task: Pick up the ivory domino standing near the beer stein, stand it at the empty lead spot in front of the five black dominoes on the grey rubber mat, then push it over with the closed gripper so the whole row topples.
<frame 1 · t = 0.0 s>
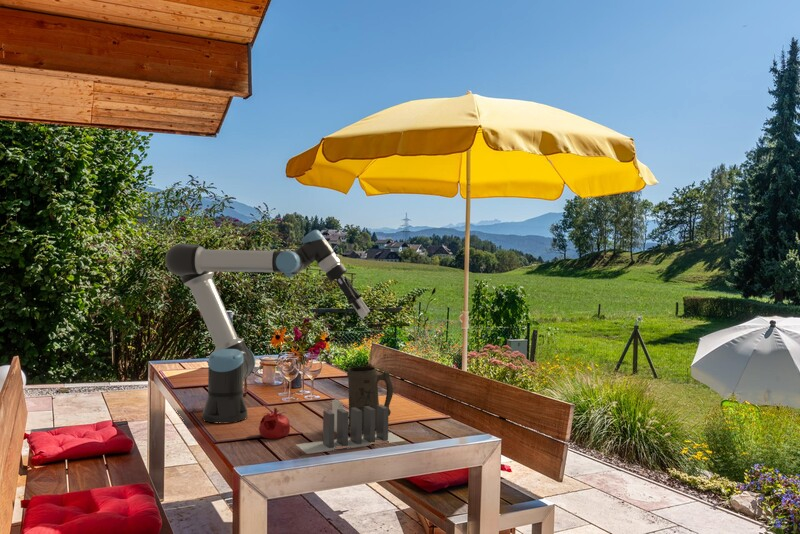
hand: (366, 315, 230), 36 cm above the table, tool tilted 35°, fingers open, 13 cm apart
domino 3: (355, 441, 191), resting on mat
domino 2: (342, 443, 189), resting on mat
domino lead: (336, 432, 203), on the table
pomegranate: (274, 437, 196), on the table
domino 1: (328, 445, 187), resting on mat
domino 4: (369, 440, 193), resting on mat
beer stein: (369, 427, 209), on the table
mat: (351, 443, 190), on the table
domino 5: (382, 438, 195), resting on mat
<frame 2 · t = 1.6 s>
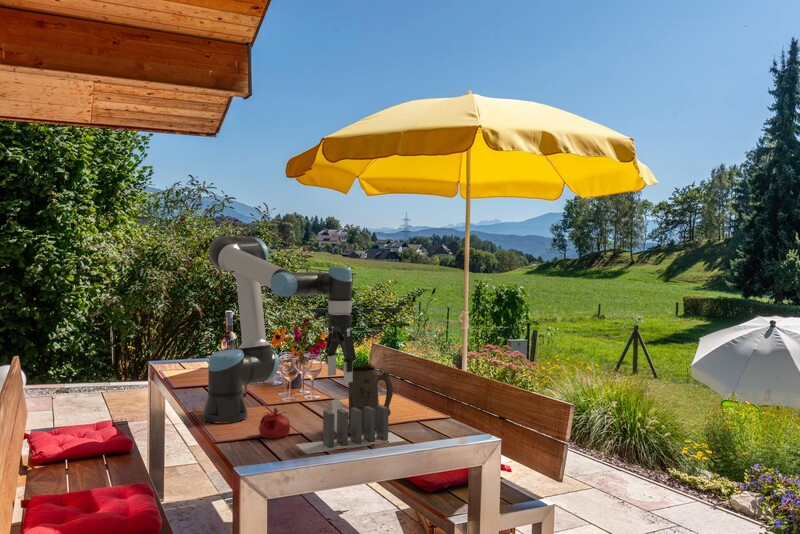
hand: (339, 378, 204), 17 cm above the table, tool pointing down, fingers open, 13 cm apart
nothing on the table moved.
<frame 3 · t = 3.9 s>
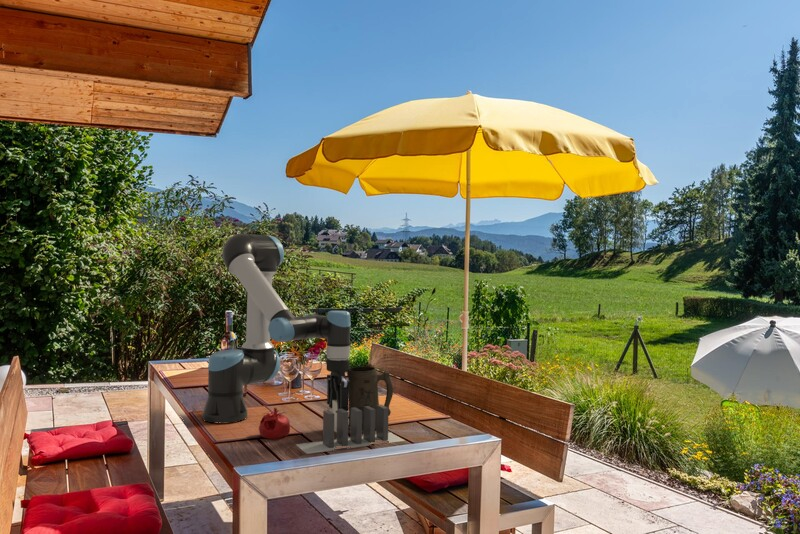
hand: (337, 429, 203), 1 cm above the table, tool pointing down, fingers closed on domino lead, 5 cm apart
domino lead: (337, 432, 203), on the table, touching gripper
everything else where it was.
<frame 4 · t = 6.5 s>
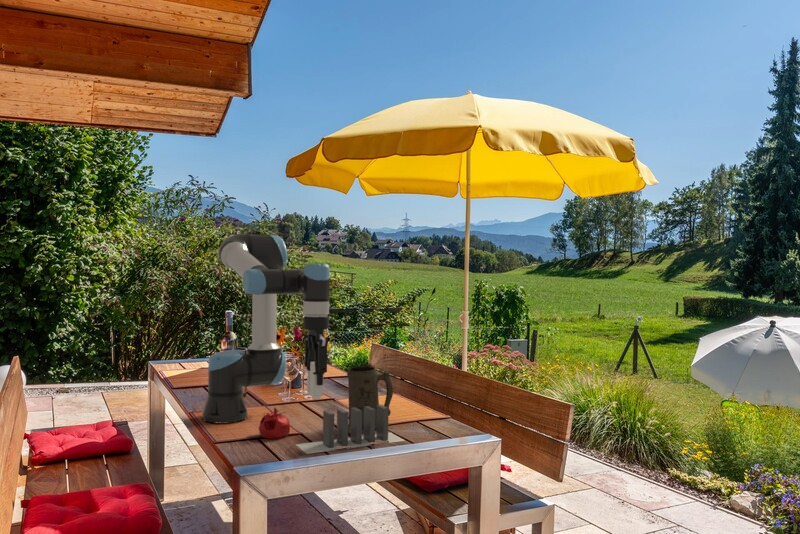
hand: (315, 393, 184), 16 cm above the table, tool pointing down, fingers closed on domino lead, 5 cm apart
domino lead: (315, 396, 184), point 15 cm above the table, touching gripper
everything else where it was.
when the fingers open (2 cm above the table, at t = 9.2 s): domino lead stays where it is, resting on mat.
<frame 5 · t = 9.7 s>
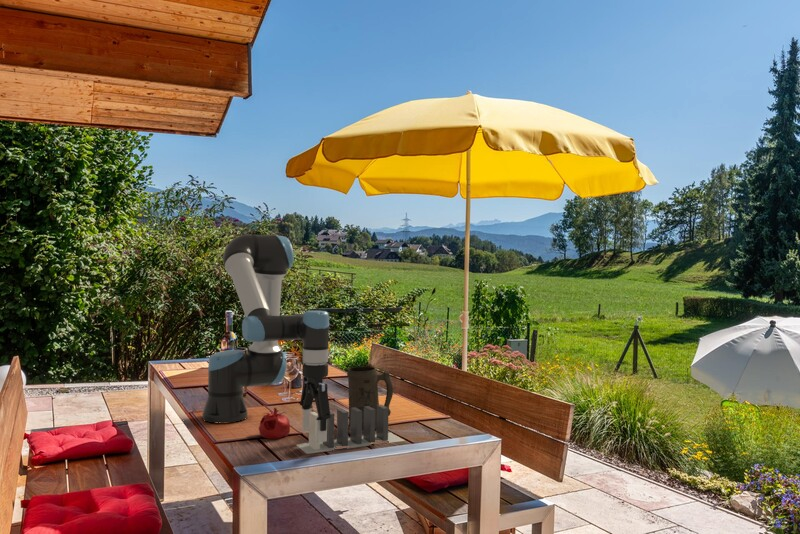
hand: (314, 436, 184), 4 cm above the table, tool pointing down, fingers open, 12 cm apart
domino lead: (314, 447, 184), resting on mat
everything else where it was.
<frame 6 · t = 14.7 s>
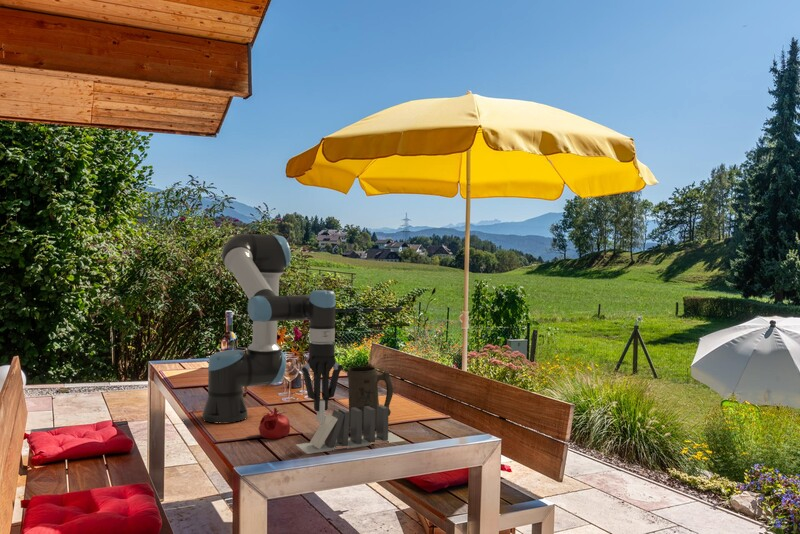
hand: (320, 421, 185), 8 cm above the table, tool pointing down, fingers closed
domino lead: (314, 445, 185), point 1 cm above the table, tilted 34°, touching mat
domino 1: (328, 444, 187), point 1 cm above the table, tilted 19°, touching mat
everything else where it was.
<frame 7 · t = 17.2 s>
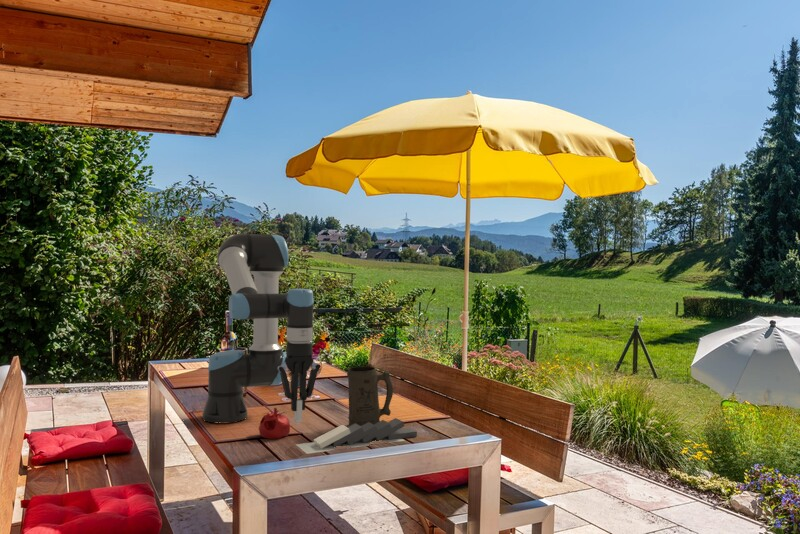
hand: (297, 421, 183), 8 cm above the table, tool pointing down, fingers closed
domino 3: (359, 438, 191), point 1 cm above the table, tilted 68°, touching domino 2, domino 4, mat
domino 2: (344, 440, 189), point 1 cm above the table, tilted 70°, touching domino 1, domino 3, mat
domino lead: (317, 444, 185), point 1 cm above the table, tilted 69°, touching domino 1
domino 1: (330, 442, 187), point 1 cm above the table, tilted 69°, touching domino 2, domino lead, mat
domino 4: (373, 436, 194), point 1 cm above the table, tilted 68°, touching domino 3, domino 5
domino 5: (385, 435, 195), point 1 cm above the table, tilted 90°, touching domino 4, mat
everything else where it was.
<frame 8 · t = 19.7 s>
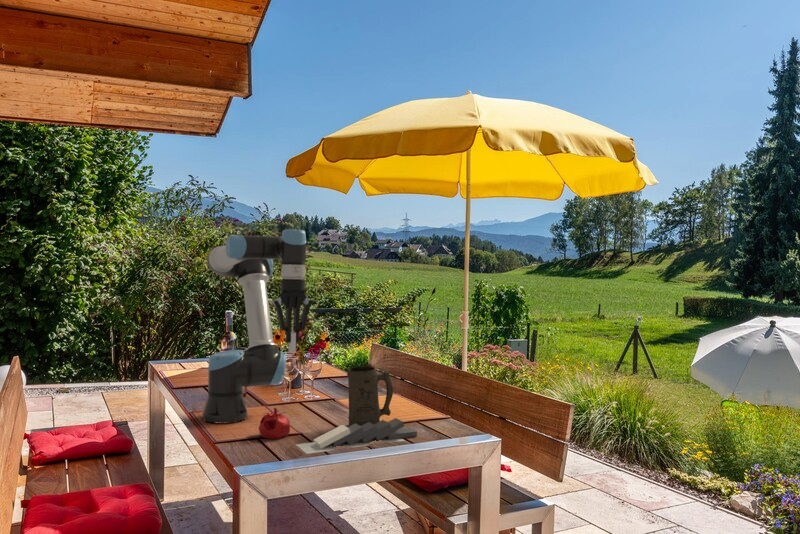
hand: (292, 352, 197), 26 cm above the table, tool pointing down, fingers closed
nothing on the table moved.
at the end: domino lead inside the target area (0.0 cm from its centre), point 1.2 cm above the table; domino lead tilted 69°; domino 5 tilted 90° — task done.
